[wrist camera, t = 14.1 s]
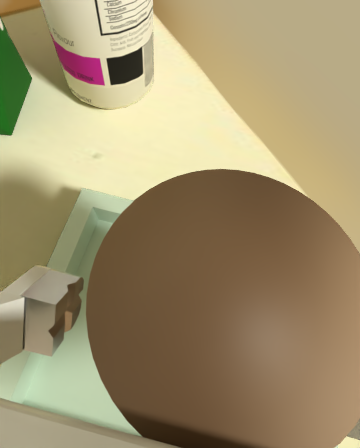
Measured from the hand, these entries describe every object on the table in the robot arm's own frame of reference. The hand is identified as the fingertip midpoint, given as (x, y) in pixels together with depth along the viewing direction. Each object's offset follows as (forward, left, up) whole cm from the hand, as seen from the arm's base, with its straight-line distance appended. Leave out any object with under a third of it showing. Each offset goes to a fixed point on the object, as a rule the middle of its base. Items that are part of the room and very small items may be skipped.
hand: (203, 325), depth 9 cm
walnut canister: (0, 0, -10) cm, 10 cm away
